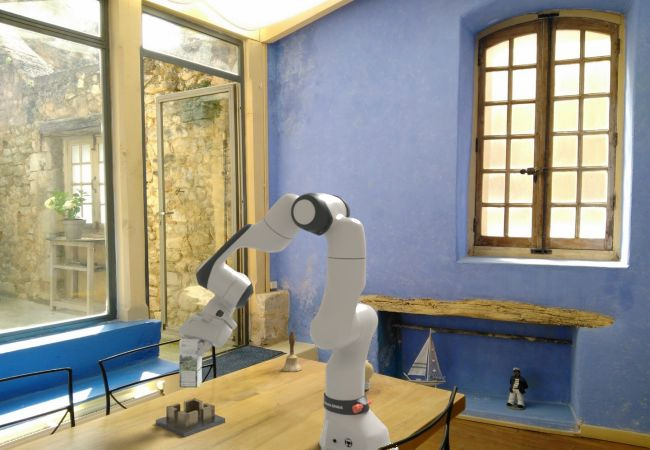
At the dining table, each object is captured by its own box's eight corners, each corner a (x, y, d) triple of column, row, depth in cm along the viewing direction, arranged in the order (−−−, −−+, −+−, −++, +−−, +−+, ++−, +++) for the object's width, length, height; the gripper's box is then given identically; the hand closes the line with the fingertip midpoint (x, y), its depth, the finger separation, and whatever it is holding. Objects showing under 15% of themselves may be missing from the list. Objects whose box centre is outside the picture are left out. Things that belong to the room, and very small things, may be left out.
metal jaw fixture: (225, 422, 165) (225, 405, 165) (184, 437, 154) (184, 419, 153) (196, 410, 175) (196, 394, 175) (155, 423, 163) (155, 407, 163)
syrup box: (202, 382, 167) (202, 336, 167) (197, 388, 161) (197, 340, 161) (184, 382, 167) (184, 336, 167) (178, 388, 161) (178, 340, 161)
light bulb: (372, 392, 194) (372, 365, 193) (355, 391, 195) (355, 364, 195) (374, 386, 200) (374, 360, 200) (357, 385, 201) (357, 359, 201)
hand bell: (280, 366, 226) (281, 329, 225) (300, 366, 227) (300, 328, 227) (282, 372, 217) (283, 333, 217) (302, 371, 219) (303, 333, 219)
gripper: (189, 306, 176) (163, 341, 168) (229, 314, 162) (203, 352, 155) (201, 318, 179) (176, 352, 172) (240, 326, 166) (215, 364, 158)
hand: (189, 352), depth 163 cm, fingers closed on syrup box, 8 cm apart
